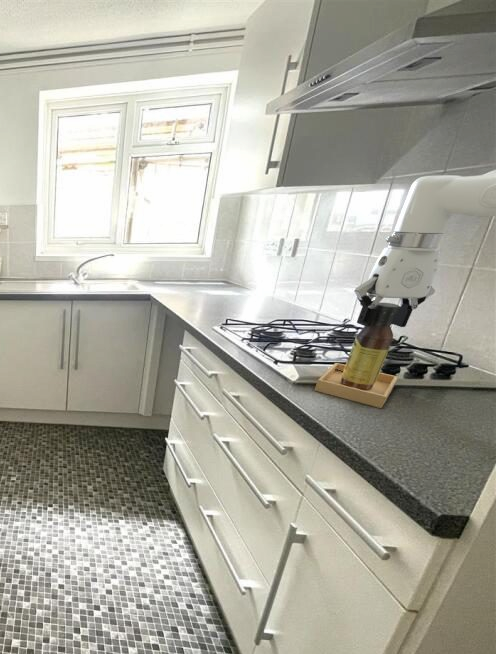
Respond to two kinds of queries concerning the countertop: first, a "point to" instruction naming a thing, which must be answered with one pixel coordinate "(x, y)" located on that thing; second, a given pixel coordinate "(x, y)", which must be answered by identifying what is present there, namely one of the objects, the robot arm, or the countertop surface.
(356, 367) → the sauce bottle
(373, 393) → the serving tray
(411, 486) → the countertop surface
